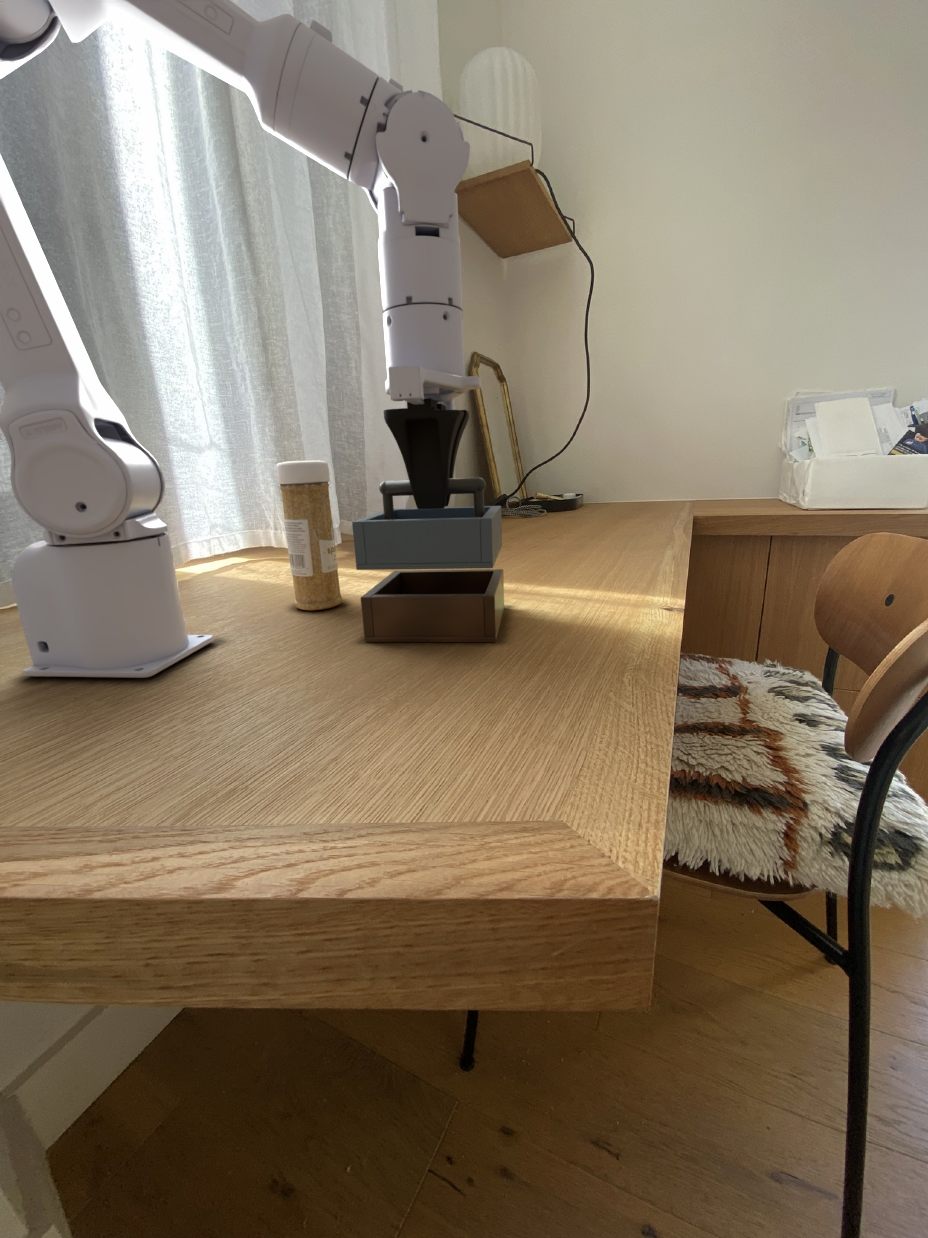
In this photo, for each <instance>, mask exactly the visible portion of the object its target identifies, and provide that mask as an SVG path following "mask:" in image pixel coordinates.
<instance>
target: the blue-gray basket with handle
mask: <svg viewBox="0 0 928 1238" xmlns="http://www.w3.org/2000/svg"><path fill="white" fill-rule="evenodd" d="M378 488H379V489H378V490H379V492H380V494H381V495H382V507H383V510H382V511H379V512H376V513H373V514H370V515H367V516H364V517H362V518H359V519H356V520H353V521H352V522H351V525H352V537H353V547H354V556H355V557H354V558H355V568H356V571H372V570H373V571H378V570H380V571H381V570H386V571H387V570H388V571H389V570H465V569H494V566H495V564H496V561H497V559H498V557H499V554H500V551H501V550H502V547H503V527H502V525H503V524H502V523H503V522H502V521H503V520H502V519H503V518H502V506H501V505H485V492H484V491H485V490H486V488H487V483H486V481H485V479H484V478H482V477H480V476H475V477H474V476H472V477H453V478H449V485H448V494H451V495H467V494H469V495H470V494H471V495H472V494H473V496H472V498H473V500H472V501H473V506H445V508H440V509H418V508H417V507H414V508H413V507H411V508H394V507H395V506H394V497H405V496H413V493H412V490H411V486H410V482H409V479H391V480H390V479H389V480H383V481H382V482H381V483H380V484H379V487H378Z"/></svg>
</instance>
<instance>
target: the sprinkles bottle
mask: <svg viewBox="0 0 928 1238" xmlns="http://www.w3.org/2000/svg"><path fill="white" fill-rule="evenodd" d="M275 470H276V479H277V483H278V484H279V485H280V486H279V490H280V491H281V502H282V510H283V516H284V518H283V522H284V529H285V530H284V531H285V537H286V538H285V539H286V544H287V545H286V546H287V551H288V552H287V553H288V559H289V566H290V573H291V575H292V583H293V589H294V607H296V608H297V609H299V610H304V611H320V610H327V609H331V608H334V607H336V606H339V605H341V603H342V602H343V596H342V594H341V588H340V580H339V579H340V578H339V571H338V570H339V565H338V557H337V549H336V548H337V547H336V540H335V539H336V538H335V531H334V521H333V517H332V507H331V499H330V489H329V488H330V487H329V486H330V484H329V482H330V481H331V478H330V469H329V463H328V462H327V461H326V460H319V459H315V460H314V459H313V460H290V461H289V460H288V461H282V462H277V464H276V465H275Z"/></svg>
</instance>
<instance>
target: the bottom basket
mask: <svg viewBox="0 0 928 1238" xmlns="http://www.w3.org/2000/svg"><path fill="white" fill-rule="evenodd" d="M504 581H505V580H504V569H503V568H496V569H495V568H480V569H413V570H393V571H392V572H391V573H389V574H388V575H387V576H386V577H384V578H383V579H381V581H379V582H377V584H376V585H375V586H373V587H372V588H370V589H369V590H368V591H366V593H365V594H363V595H362V596H361V597H360V606H361V616H362V627H363V636H364V637H363V639H364V642H365V643H373V642H374V643H496V642H497V638H498V636H499V635H498V634H499V630H500V626H501V622H502V618H503V614H504V609H505V582H504Z"/></svg>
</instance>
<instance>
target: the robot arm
mask: <svg viewBox="0 0 928 1238" xmlns="http://www.w3.org/2000/svg"><path fill="white" fill-rule="evenodd" d="M106 21H114V22H116V23H117V24H119V25H121V26H123V27H125V28H126V29H129V30H130V31H132V32H134V33H136V34H137V35H140V36H141V37H143V38H145V39H147V40H148V41H150V42H152V43H154V44H156V45H157V46H160V47H161V48H163V49H165V50H166V51H169V52H171V53H172V54H174V55H176V56H177V57H180V58H181V59H183V60H185V61H187V62H189V63H190V64H192V65H194V66H196V67H198V68H200V69H201V70H203V71H205V72H207V73H209V74H211V75H212V76H214V77H216V78H217V79H220V80H222V81H223V82H225V83H227V84H229V85H230V86H232V87H234V88H236V89H238V90H240V91H242V92H244V93H245V94H246V95H247V97H248V99H249V100H250V103H251V105H252V107H253V109H254V111H255V114H256V116H257V119H258V121H259V123H260V126H261V127H262V128H263V130H265V131H266V132H267V133H269V134H271V135H272V136H274V137H276V138H278V139H280V140H281V141H283V142H284V143H286V144H287V145H289V146H291V148H292V147H293V148H294V149H296V150H298V151H299V152H301V153H303V154H304V155H306V156H307V157H309V158H311V159H312V160H314V161H316V162H317V163H319V164H320V165H322V166H324V167H325V168H327V169H329V170H330V171H332V172H333V173H336V174H337V175H339V176H340V177H342V178H344V179H345V180H347V181H349V182H350V183H352V184H353V185H355V186H358V187H360V188H362V190H364V192H365V193H366V195H367V198H368V200H369V203H370V204H371V206H372V208H373V209H374V211H375V213H376V214H377V217H378V218H377V219H378V233H379V238H378V241H377V250H378V253H377V254H378V266H379V278H380V280H379V281H380V292H381V309H382V323H383V336H384V337H383V338H384V351H385V365H386V380H385V381H384V385H385V386H384V389H385V394H386V395H388V396H389V399H390V400H391V401H393V402H403V401H405V402H406V408H404V407H403V408H389V409H388V408H387V409H384V410H383V419H384V421H385V424H386V425H387V427H388V429H389V431H390V432H391V435H392V436H393V439H394V440H395V442H396V444H397V446H398V449H399V452H400V453H401V454H400V455H401V457H402V460H403V463H404V466H405V470H406V474H407V478H408V480H409V482H410V486H411V490H412V493H413V495H412V497H413V501H414V503H415V506H416V508H418V509H440V508H445V507H449V505H450V500H451V496H452V494H448V485H449V478H454V475H455V474H454V473H455V466H456V461H457V454H458V450H459V446H460V443H461V440H462V437H463V434H464V431H465V429H466V427H467V425H468V422H469V419H470V412H469V410H467V409H456V406H455V405H456V404H455V398H457V397H459V396H461V395H463V394H464V393H466V392H468V391H471V390H480V389H482V378H481V377H480V376H478V375H471V376H468V375H467V376H466V370H465V369H466V366H465V343H464V342H465V340H464V337H465V336H464V313H463V312H464V310H463V284H462V282H463V281H462V280H463V279H462V255H461V254H462V253H461V238H460V233H459V232H460V231H459V205H458V203H459V202H458V193H456V192H455V190H456V188H457V186H458V185H459V184H460V182H461V180H462V178H463V177H464V175H465V173H466V171H467V168H468V163H469V161H470V160H469V159H470V153H471V145H470V142H469V141H466V140H465V139H464V135H463V134H464V133H463V130H462V128H461V125H460V123H459V122H457V121H456V118H455V114H454V113H453V111H452V110H451V108H450V107H449V106H448V105H447V104H446V103H445V102H444V101H443V100H441V99H440V98H439V97H437V96H436V95H434V94H432V93H431V92H427V91H424V90H421V89H420V90H419V89H418V90H417V91H414V92H413V89H410V90H405V88H404V86H403V85H402V84H401V83H399V82H398V81H396V80H394V79H393V78H389V80H388V81H387V80H386V79H385V78H383V77H382V76H380V75H379V74H378V73H376V72H375V71H373V70H372V69H370V68H369V67H367V66H366V65H365V64H363V63H362V62H360V61H359V60H357V59H356V58H354V57H353V56H351V55H350V54H349V53H347V52H345V51H344V50H343V49H342V48H339V47H338V45H336V44H333V33H332V31H331V30H329V29H328V28H327V27H325V26H324V25H322V24H321V23H320V22H318V21H317V20H315V19H313V20H312V21H311V22H310V26H308V25H307V24H305V23H303V22H301V21H300V20H299V19H297V18H296V17H294V16H293V15H292V14H290V13H283V14H279V15H276V16H274V17H272V18H268V19H266V20H263V21H262V20H261V21H260V20H259V21H258V20H257V19H256V18H254V17H253V16H252V15H251V14H249V13H248V12H247V11H245V10H244V9H243V8H241V7H240V6H239V5H237V4H236V3H234V2H233V1H232V0H0V80H1V79H3V78H4V77H6V76H7V75H9V74H11V73H12V72H14V71H15V70H17V69H18V68H20V67H21V66H22V65H24V64H25V63H27V62H28V61H30V60H31V59H33V58H34V57H36V56H37V55H39V54H40V53H42V52H43V51H44V50H45V49H47V47H49V46H50V45H51V44H52V43H53V42H54V41H55V40H56V37H57V36H58V35H59V32H60V29H61V27H62V28H63V29H64V31H65V32H66V35H67V37H68V38H69V40H70V42H71V43H80V42H82V41H83V40H84V39H85V38H87V37H88V36H90V34H92V33H93V32H94V31H96V30H97V29H98V28H99V27H101V25H103V24H104V23H105V22H106ZM71 315H72V314H71V313H70V310H69V308H68V306H67V304H66V302H65V299H64V297H63V295H62V292H61V290H60V288H59V285H58V283H57V280H56V278H55V276H54V274H53V272H52V269H51V267H50V264H49V263H48V260H47V258H46V255H45V254H44V251H43V249H42V246H41V243H40V242H39V240H38V238H37V235H36V232H35V230H34V228H33V226H32V224H31V221H30V219H29V217H28V214H27V212H26V209H25V208H24V206H23V202H22V200H21V198H20V196H19V194H18V191H17V189H16V187H15V184H14V182H13V180H12V177H11V175H10V173H9V171H8V168H7V166H6V164H5V161H4V160H3V157H2V154H1V153H0V384H1V386H2V388H3V390H4V398H3V402H2V406H1V407H0V408H1V409H0V430H1V432H2V434H3V436H4V438H5V441H6V443H7V445H8V449H9V452H10V453H9V454H10V476H9V478H10V483H11V485H10V487H11V489H12V492H13V496H14V498H15V500H16V502H17V503H18V505H19V507H20V508H21V509H22V511H23V512H24V513H25V514H26V515H27V516H28V518H30V520H32V521H33V522H34V523H36V524H37V525H39V526H40V527H42V528H43V529H44V530H43V532H42V535H43V536H42V537H43V539H44V540H40V541H36V542H33V543H32V544H31V543H30V544H29V545H28V546H26V547H25V548H24V549H23V550H21V551H20V552H19V554H18V555H17V557H16V558H15V560H14V562H13V563H14V564H13V567H12V570H11V587H12V592H13V595H14V599H15V604H16V607H17V611H18V614H19V618H20V621H21V625H22V626H21V627H22V629H23V632H24V636H25V640H26V644H27V648H28V651H29V655H30V658H31V663H32V665H30V666H28V667H26V668H24V669H23V670H22V673H23V676H24V677H43V678H44V677H48V678H51V677H52V678H53V677H54V678H55V677H56V678H57V677H58V678H124V679H125V678H126V679H128V678H129V679H131V678H132V679H133V678H134V679H135V678H136V679H137V678H138V679H144V678H145V679H146V678H150V677H153V676H155V675H157V674H158V673H160V672H163V670H165V669H167V668H169V667H171V666H172V665H175V664H176V663H178V662H180V661H182V660H183V659H184V658H185V659H186V657H188V656H190V655H191V654H194V653H195V652H197V651H198V650H200V649H202V648H204V647H206V646H208V645H209V644H211V643H212V642H214V641H215V635H213V634H188V630H187V625H186V619H185V618H186V617H185V614H184V608H183V604H182V598H181V592H180V587H179V582H178V577H177V571H176V566H175V561H174V556H173V551H172V550H173V549H172V545H171V540H170V534H169V532H168V531H169V530H168V529H169V528H168V524H166V523H165V522H164V521H162V520H161V519H160V518H159V516H158V514H157V513H156V511H157V510H158V509H159V508H160V506H161V504H162V503H163V501H164V498H165V492H166V480H165V476H164V475H165V474H164V472H163V470H162V468H161V465H160V464H159V462H158V461H157V459H156V458H155V456H153V454H152V453H150V451H148V450H147V449H146V448H145V447H144V446H143V445H142V444H140V442H139V441H138V440H137V439H136V437H135V436H134V434H133V433H132V432H131V430H130V427H129V425H128V423H127V420H126V418H125V416H124V415H123V413H122V412H121V410H120V409H119V407H118V406H117V405H116V403H115V402H114V400H113V399H112V398H111V396H110V395H109V394H108V393H107V391H106V389H105V388H104V386H103V385H102V383H101V382H100V379H99V377H98V375H97V373H96V370H95V368H94V366H93V363H92V361H91V359H90V357H89V354H88V352H87V350H86V348H85V344H84V343H83V341H82V338H81V336H80V333H79V331H78V329H77V327H76V324H75V322H74V320H73V317H72V316H71Z"/></svg>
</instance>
